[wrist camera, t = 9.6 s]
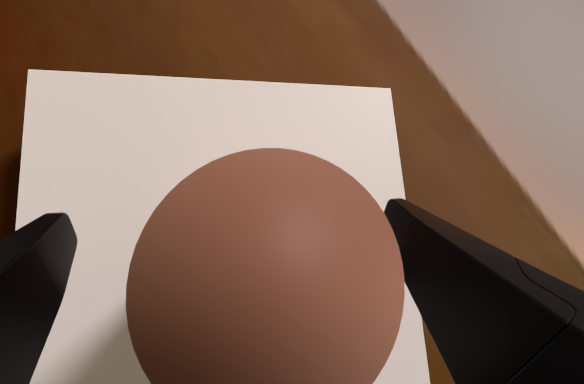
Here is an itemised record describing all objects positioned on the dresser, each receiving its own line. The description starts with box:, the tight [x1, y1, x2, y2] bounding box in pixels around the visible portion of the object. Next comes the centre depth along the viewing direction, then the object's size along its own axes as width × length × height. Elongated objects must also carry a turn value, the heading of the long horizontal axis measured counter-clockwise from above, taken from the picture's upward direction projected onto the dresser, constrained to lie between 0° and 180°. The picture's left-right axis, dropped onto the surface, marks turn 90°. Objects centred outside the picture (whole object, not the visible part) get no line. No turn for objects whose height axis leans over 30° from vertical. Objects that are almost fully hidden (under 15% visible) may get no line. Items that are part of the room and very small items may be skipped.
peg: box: [126, 148, 405, 384], centre depth 10 cm, size 4×4×13 cm
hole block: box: [15, 69, 430, 384], centre depth 14 cm, size 16×16×4 cm
